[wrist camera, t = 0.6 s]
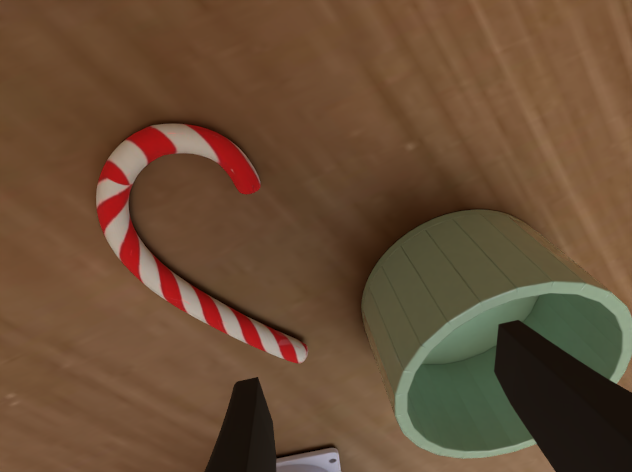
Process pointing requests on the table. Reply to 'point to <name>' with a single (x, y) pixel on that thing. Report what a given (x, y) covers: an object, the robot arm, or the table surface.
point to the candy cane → (144, 264)
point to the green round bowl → (479, 325)
